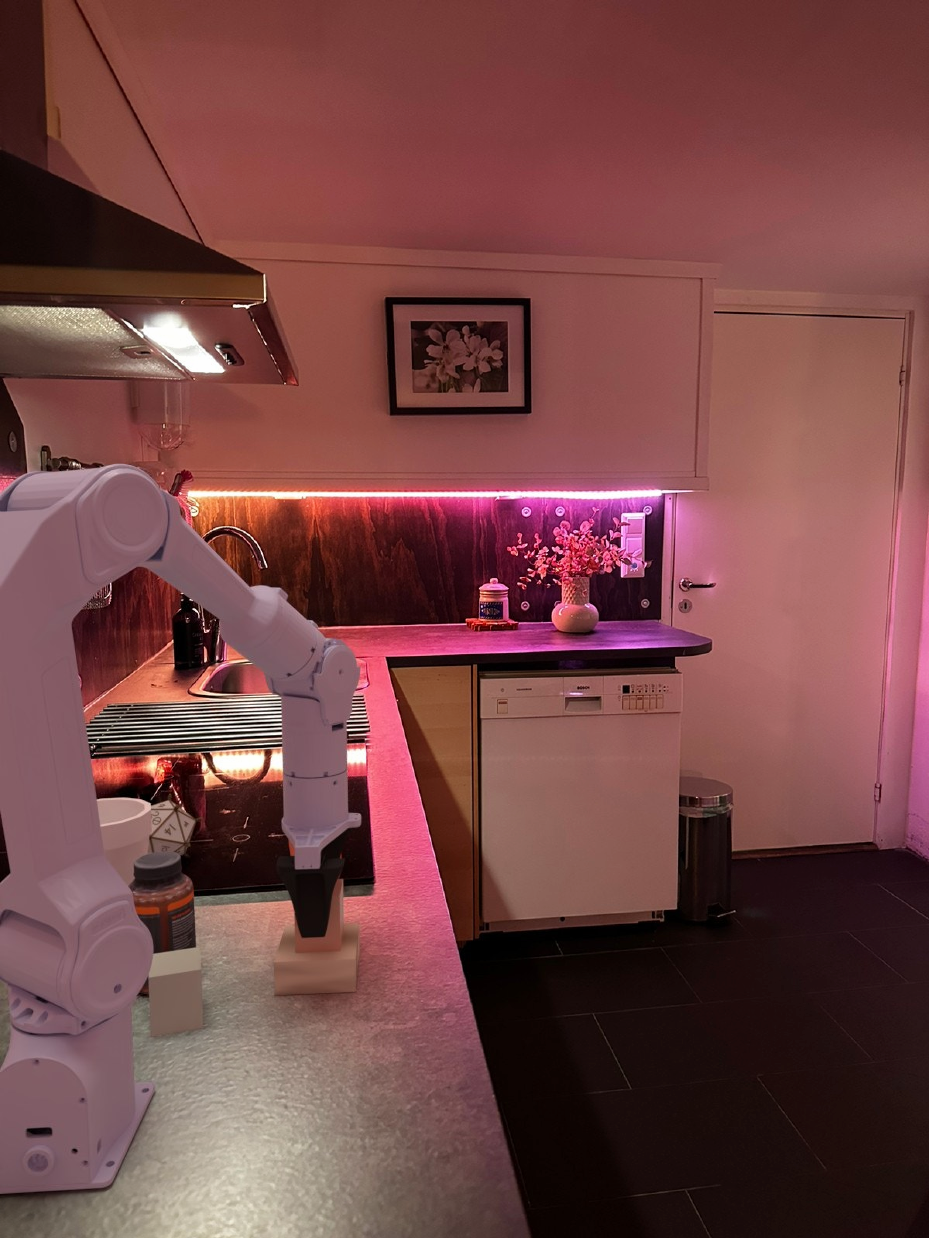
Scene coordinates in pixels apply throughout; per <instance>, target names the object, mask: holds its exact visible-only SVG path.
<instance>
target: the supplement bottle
mask: <svg viewBox="0 0 929 1238" xmlns="http://www.w3.org/2000/svg"><path fill="white" fill-rule="evenodd" d="M182 869H183V866H182V858H181V856H180V855H179V854H178V853H175V852H170V851H163V852H154V853H149V854H146V855H143V856H141V857H139V858H138V859H136V860H135V861H134V874H133V875H134V877H135V879H134V880H133V882H131V883H130V884H129V885H128V887H129V888H130V890H131V891H132V893H133V900H134V906H135V910H136V913H137V915H138V917H139V919H140V920H141V921H142V922H143V923H144V925H145V926H146V927H147V928H148V930H149V932H150V933H151V937H152V940H153V954H157V953H163V952H170V951H176V950H183V949H189V948H196V947H197V941H196V940H197V936H196V935H197V934H196V916H195V914H196V912H195V894H194V891H195V890H194V883H193V881H192V879H191V878H190V877H189V876H187V875H186V874H184V873H183V872H182ZM148 977H149V974H148ZM148 977H147V979H146V981H145V983H144V985H143V987H142V988H141V990H140V991H139V993H138V994H143V995H144V994H145V995H149V979H148Z"/></svg>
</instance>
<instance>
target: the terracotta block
mask: <svg viewBox="0 0 929 1238" xmlns="http://www.w3.org/2000/svg"><path fill="white" fill-rule="evenodd" d="M344 910H345V909H344V878H339V879H337V882H336V884H335V887H334V890H333V894H332V900H331V908H330V916H329V922H328V927H327V931H326V935H325V937H316V938H302V937H301V935H300V932H299V929H298V925H297V921H296V917H295V912H294V911H293V913H294V916H293V917H294V925H295V953H305V952H331V951H341V946H342V939H343V933H344V923H345V919H344V914H345V913H344V912H345V911H344Z"/></svg>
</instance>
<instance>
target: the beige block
mask: <svg viewBox="0 0 929 1238" xmlns="http://www.w3.org/2000/svg"><path fill="white" fill-rule="evenodd" d="M201 955H202V954H201V946H196V948H189V949H183V950H176V951H170V952H163V953H157V954H153V960H152V965H151V969H150V972H149V977H148V979H149V994H148V997H149V998H148V999H149V1001H148V1002H149V1003H148V1004H149V1027H150V1029H149V1030H150V1032H149V1033H150V1038H154V1037H160V1036H166V1035H167V1036H168V1035H171V1034H176V1033H182V1032H188V1031H194V1030H198V1029H203V1028H204V1011H203V1009H204V1008H203V982H202V981H203V980H202V975H203V973H202V957H201ZM187 1030H188V1031H187Z"/></svg>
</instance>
